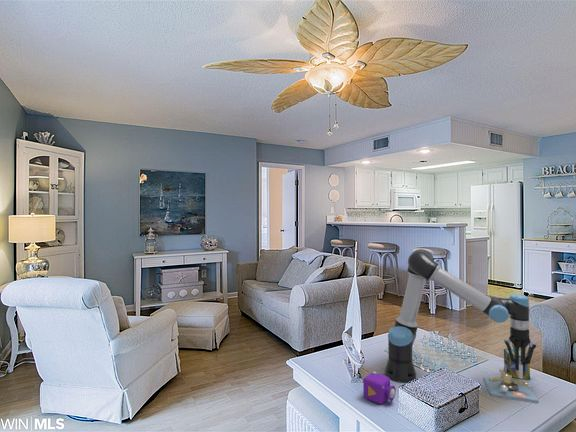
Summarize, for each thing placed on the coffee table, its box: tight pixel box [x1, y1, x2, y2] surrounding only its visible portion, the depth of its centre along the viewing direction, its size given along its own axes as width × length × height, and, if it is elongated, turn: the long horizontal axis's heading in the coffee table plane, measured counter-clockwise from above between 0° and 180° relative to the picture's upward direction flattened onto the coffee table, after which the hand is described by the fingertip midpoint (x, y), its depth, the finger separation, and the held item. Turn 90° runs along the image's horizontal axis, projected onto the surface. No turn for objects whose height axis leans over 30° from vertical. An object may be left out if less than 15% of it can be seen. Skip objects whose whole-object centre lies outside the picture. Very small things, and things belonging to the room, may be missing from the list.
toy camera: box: [362, 371, 397, 405], centre depth 150 cm, size 11×14×10 cm
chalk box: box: [503, 344, 531, 380], centre depth 172 cm, size 9×9×15 cm
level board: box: [482, 376, 540, 404], centre depth 157 cm, size 18×17×2 cm
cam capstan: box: [489, 368, 530, 392], centre depth 157 cm, size 16×17×6 cm
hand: (520, 377), depth 160 cm, fingers closed
